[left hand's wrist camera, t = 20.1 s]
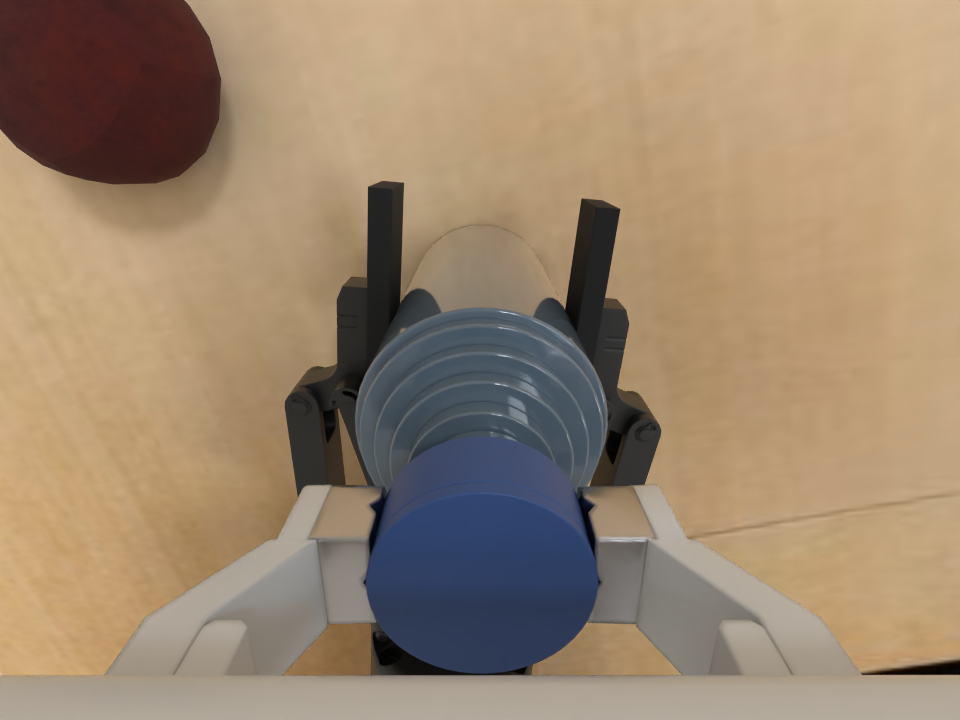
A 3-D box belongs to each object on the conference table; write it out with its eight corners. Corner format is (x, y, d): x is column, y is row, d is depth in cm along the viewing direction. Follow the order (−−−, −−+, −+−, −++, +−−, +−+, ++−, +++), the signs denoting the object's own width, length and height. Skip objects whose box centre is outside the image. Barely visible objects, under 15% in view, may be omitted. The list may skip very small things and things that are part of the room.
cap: (593, 440, 10) (615, 499, 8) (568, 602, 11) (582, 679, 10) (382, 428, 10) (363, 486, 8) (382, 592, 11) (366, 669, 10)
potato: (30, 79, 23) (-150, 55, 16) (145, -69, 21) (-7, -162, 15) (173, 217, 25) (64, 244, 18) (289, 93, 23) (213, 75, 17)
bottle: (448, 372, 28) (401, 733, 11) (391, 258, 26) (220, 485, 9) (566, 324, 27) (713, 635, 10) (516, 201, 25) (595, 331, 8)
